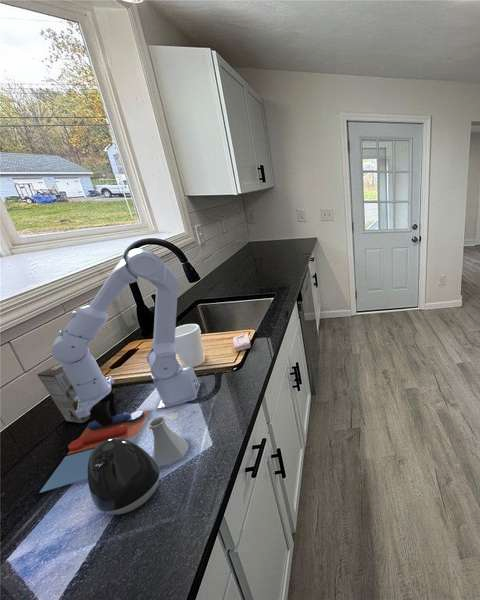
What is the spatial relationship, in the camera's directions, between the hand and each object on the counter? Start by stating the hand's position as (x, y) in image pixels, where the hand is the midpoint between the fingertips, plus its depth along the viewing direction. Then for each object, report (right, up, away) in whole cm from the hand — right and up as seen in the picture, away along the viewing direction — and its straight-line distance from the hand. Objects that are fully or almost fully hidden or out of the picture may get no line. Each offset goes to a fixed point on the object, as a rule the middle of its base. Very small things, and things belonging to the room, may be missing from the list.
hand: (109, 420), depth 83 cm
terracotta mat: (+2, -2, -2) cm, 4 cm away
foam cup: (+5, +10, +28) cm, 30 cm away
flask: (+24, -4, -10) cm, 26 cm away
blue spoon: (+1, -1, +1) cm, 2 cm away
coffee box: (-11, 0, +6) cm, 13 cm away
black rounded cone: (+24, -9, -20) cm, 32 cm away
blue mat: (+6, -6, -11) cm, 14 cm away
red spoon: (+2, -3, -4) cm, 6 cm away
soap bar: (+17, +16, +36) cm, 43 cm away
